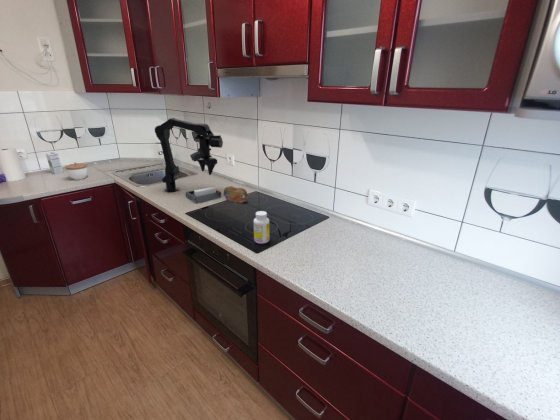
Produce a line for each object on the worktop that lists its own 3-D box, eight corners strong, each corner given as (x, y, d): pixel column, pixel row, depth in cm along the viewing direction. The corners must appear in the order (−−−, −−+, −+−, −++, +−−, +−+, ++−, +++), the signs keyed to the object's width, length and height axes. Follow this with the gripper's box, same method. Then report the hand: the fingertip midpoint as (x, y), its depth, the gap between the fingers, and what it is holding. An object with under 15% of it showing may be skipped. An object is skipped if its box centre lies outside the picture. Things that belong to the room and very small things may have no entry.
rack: (186, 197, 176) (185, 191, 174) (210, 191, 186) (210, 185, 184) (195, 203, 167) (195, 197, 165) (221, 197, 176) (220, 191, 175)
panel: (194, 198, 171) (193, 190, 169) (213, 194, 179) (212, 186, 177) (197, 200, 169) (196, 192, 167) (216, 195, 176) (215, 187, 174)
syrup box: (63, 172, 219) (58, 152, 213) (54, 174, 214) (48, 154, 209) (59, 171, 222) (54, 151, 216) (50, 173, 217) (45, 153, 212)
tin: (223, 199, 174) (223, 185, 171) (227, 197, 176) (226, 184, 173) (245, 204, 167) (245, 190, 164) (248, 202, 170) (248, 188, 167)
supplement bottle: (266, 235, 133) (266, 209, 128) (271, 242, 127) (271, 215, 122) (252, 238, 130) (251, 211, 126) (256, 245, 125) (256, 217, 120)
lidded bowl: (74, 182, 199) (70, 165, 194) (64, 179, 205) (60, 163, 200) (93, 177, 209) (90, 162, 205) (83, 174, 215) (79, 159, 210)
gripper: (184, 145, 174) (187, 171, 180) (198, 151, 161) (200, 178, 167) (202, 143, 180) (204, 168, 186) (217, 148, 167) (218, 175, 173)
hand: (206, 172), depth 178 cm, fingers open, 9 cm apart
